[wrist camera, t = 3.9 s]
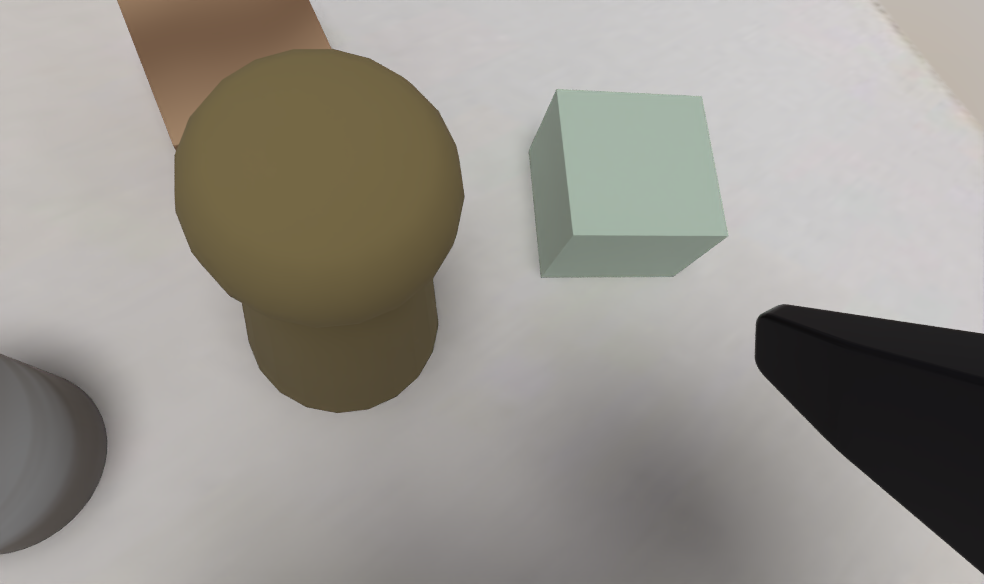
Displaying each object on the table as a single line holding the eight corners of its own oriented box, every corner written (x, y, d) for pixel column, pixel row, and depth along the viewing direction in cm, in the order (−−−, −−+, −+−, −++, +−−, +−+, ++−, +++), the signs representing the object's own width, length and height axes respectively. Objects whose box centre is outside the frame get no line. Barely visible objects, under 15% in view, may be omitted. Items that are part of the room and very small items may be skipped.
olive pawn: (335, 199, 22) (303, -66, 12) (474, 307, 22) (567, 133, 11) (204, 331, 20) (23, 151, 10) (356, 453, 20) (337, 402, 9)
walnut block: (356, 169, 23) (352, 94, 18) (212, 215, 21) (173, 145, 17) (294, 33, 24) (278, -67, 20) (155, 68, 22) (105, -31, 18)
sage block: (652, 156, 25) (701, 96, 21) (671, 277, 24) (728, 236, 20) (528, 152, 24) (556, 89, 20) (540, 278, 23) (573, 235, 19)
